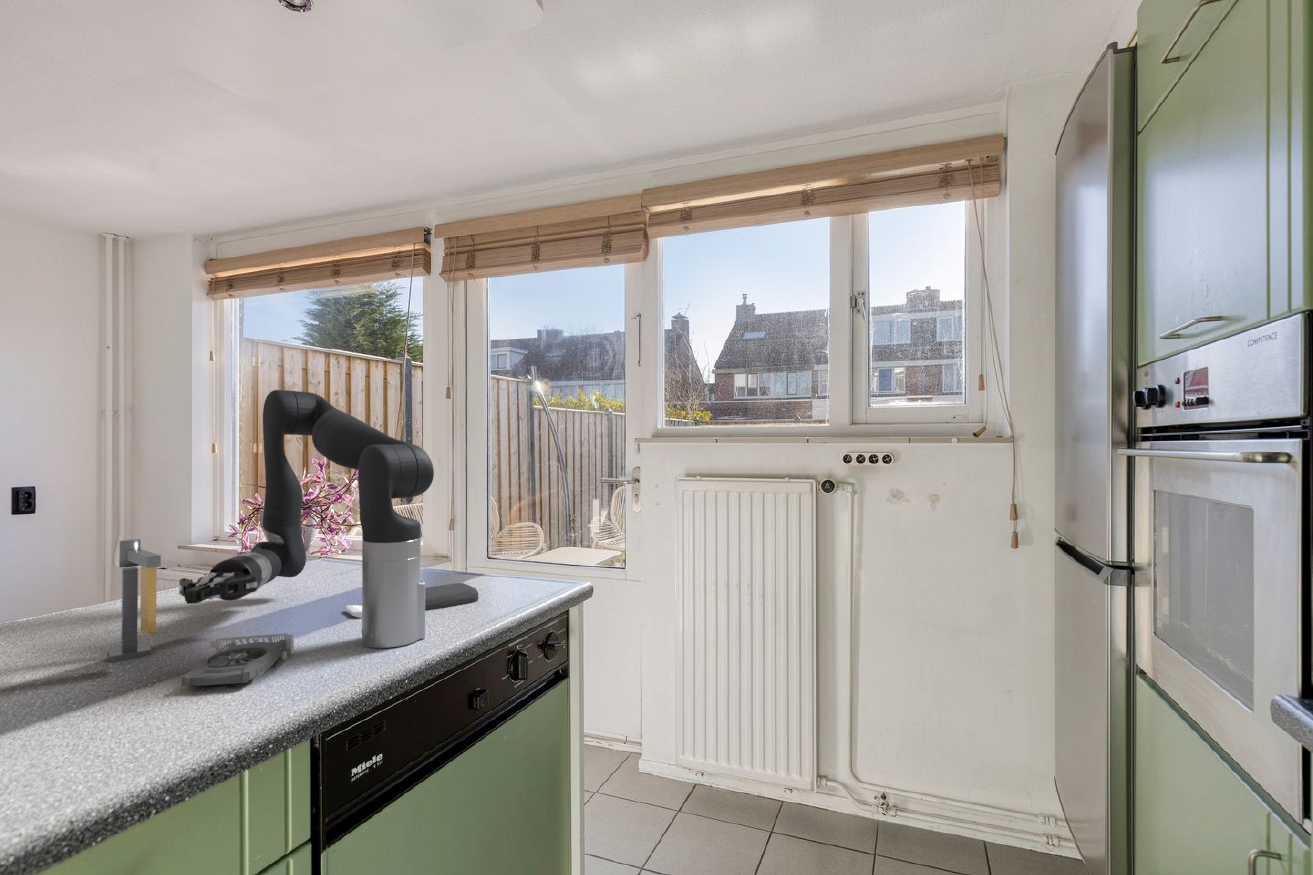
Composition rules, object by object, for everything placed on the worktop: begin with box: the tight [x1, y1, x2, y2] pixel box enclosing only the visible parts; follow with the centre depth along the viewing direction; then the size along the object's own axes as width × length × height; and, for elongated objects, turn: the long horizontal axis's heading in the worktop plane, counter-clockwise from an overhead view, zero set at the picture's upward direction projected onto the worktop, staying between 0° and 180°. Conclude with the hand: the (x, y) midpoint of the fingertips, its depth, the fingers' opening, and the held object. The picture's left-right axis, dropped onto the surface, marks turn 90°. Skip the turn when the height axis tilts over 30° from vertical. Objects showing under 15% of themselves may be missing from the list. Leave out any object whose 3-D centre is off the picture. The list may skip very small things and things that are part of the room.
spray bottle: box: [344, 582, 479, 619], centre depth 134 cm, size 3×11×24 cm
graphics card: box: [180, 632, 295, 688], centre depth 96 cm, size 17×4×12 cm
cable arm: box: [118, 538, 162, 636], centre depth 100 cm, size 13×3×13 cm, turn 52°
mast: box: [106, 566, 152, 663], centre depth 103 cm, size 5×5×14 cm
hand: (191, 597), depth 106 cm, fingers closed
